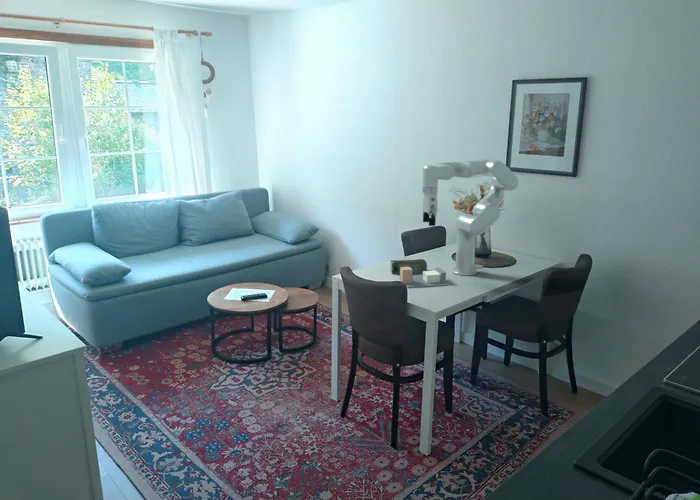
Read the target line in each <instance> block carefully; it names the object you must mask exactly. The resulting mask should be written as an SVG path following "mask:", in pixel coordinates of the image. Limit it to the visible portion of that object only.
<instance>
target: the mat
mask: <svg viewBox="0 0 700 500" xmlns="http://www.w3.org/2000/svg"><path fill="white" fill-rule="evenodd" d="M405 284H406V285H407V286H406V285H405ZM405 284H404V285H405V286H406V287H407V288H408V289H413V288H414V289H415V288H418V289H419V288H430V287H431V288H432V287H447V286H448V284H447V283H446V282H444V283H441V282H433V283H426V282H425V281H424V280H423V275H420V276H419V275H418V276H417V275H416V276H413V279H412V283H405Z"/></svg>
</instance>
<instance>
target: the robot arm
mask: <svg viewBox="0 0 700 500" xmlns="http://www.w3.org/2000/svg"><path fill="white" fill-rule="evenodd" d="M455 177H456V178H464V179H466V178H467V179H470V178H480V177H491V180H490V190H489V192H488V193H487V194H486V195H485V196H484V197H483V198H481V200H479V201H478V202H477V203H476V204H475V205H474V206H473V207H472V209H471V210H472V211H471V212H472V214H471V213H462V214H460V215H459V216H458V217H457V219H456V220H455V221H456V222H455V228H456V229H455V230H456V252H455V253H456V255H455V268H453V269H452V273H453V274H455V275H459V276H474V275H476V274H477V272H478V271H477V270H482V269H483V268H484V267H483V265H481V264H475V255H476V253H475V251H476V237H477V236H479V235H482V234H483V233H485V232H486V231H487V230H488V229H489V228H491V226H492V225H494V224H495V223H496V222H497V221H498V219H499V218H500V216H501V208H500V205H501V204H502V203H503V200H504V198H505V191H507V192H513V191H514V190H516V189H517V188H518V187H519V178H518V176H517V175H516V174H515V173H514V172H513V171H512V170H511V169H510V168H509V167H508V166H507V165H506V164H505V163H504V162H503V161H501V160H498V159H478V160H476V159H475V160H465V161H452V162H451V161H450V162H439V163H435V164H433V165H432V164H431V165H428V164H427V165H424V166H423V169H422V195H423V197H422V198H423V199H422V222H423V223H428V226H429V227H431V226H432V227H434V226H436V218H437V216H436V215H437V214H438V192H439V191H438V189H439V188H438V187H439V184H438V183H439V180H442V181H448V180H452V179H453V178H455Z"/></svg>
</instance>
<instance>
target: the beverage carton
mask: <svg viewBox="0 0 700 500" xmlns="http://www.w3.org/2000/svg"><path fill="white" fill-rule="evenodd" d="M389 261H390V263H389V264H390V265H389V266H390V267H389V268H390V270H389V271H390V272H391V275H400V267H411V268H412V269H413V274H414V275H415V273H416V274H423V271H428V268H427V267H428V265H427V261H426V260H425V259H421V258H420V259H419V258H418V259H404V260H403V259H402V260H401V259H399V260H398V259H397V260H396V259H395V260H393V259H392V260H389Z"/></svg>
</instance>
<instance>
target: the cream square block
mask: <svg viewBox="0 0 700 500" xmlns="http://www.w3.org/2000/svg"><path fill="white" fill-rule="evenodd" d="M422 276H423V280H424V281H425V282H426V283H433V282H441V283H444V282H445V283H446V282H447V281H446V279H447V272H446V271H445V270H444V269H443V268H442V267H435V270H427V271H423V273H422Z"/></svg>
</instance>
